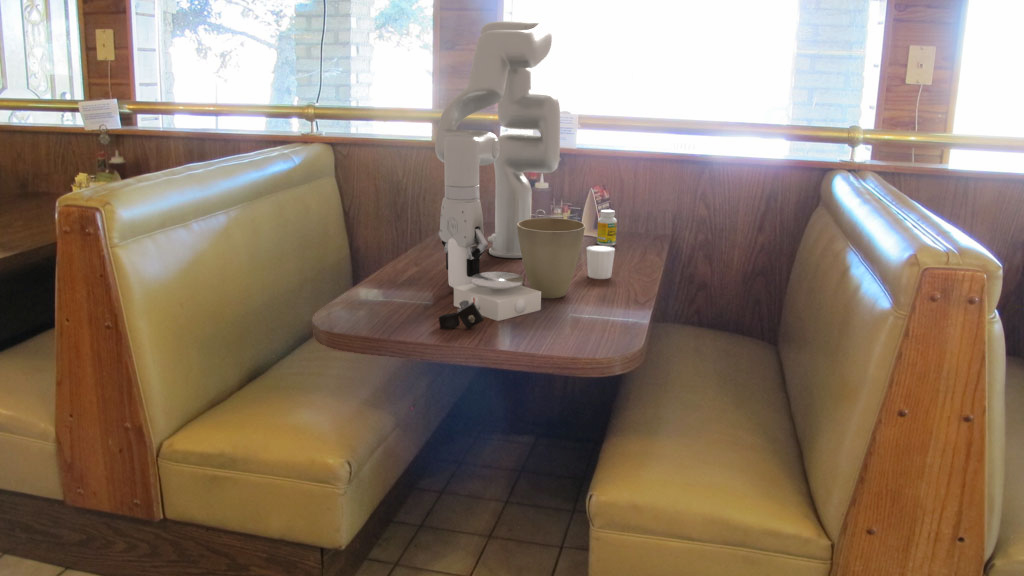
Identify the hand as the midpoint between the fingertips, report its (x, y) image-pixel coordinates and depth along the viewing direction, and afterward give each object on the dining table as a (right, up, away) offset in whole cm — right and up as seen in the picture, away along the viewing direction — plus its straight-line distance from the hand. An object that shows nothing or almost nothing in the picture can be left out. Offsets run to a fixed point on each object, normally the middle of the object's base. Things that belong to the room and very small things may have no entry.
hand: (462, 271), depth 188 cm
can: (0, -3, +1) cm, 3 cm away
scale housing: (+8, -8, -11) cm, 15 cm away
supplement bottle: (+38, +9, +52) cm, 65 cm away
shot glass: (+32, -1, +17) cm, 36 cm away
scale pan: (+8, -3, -12) cm, 15 cm away
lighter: (+1, -12, -24) cm, 27 cm away
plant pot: (+19, -5, 0) cm, 20 cm away
